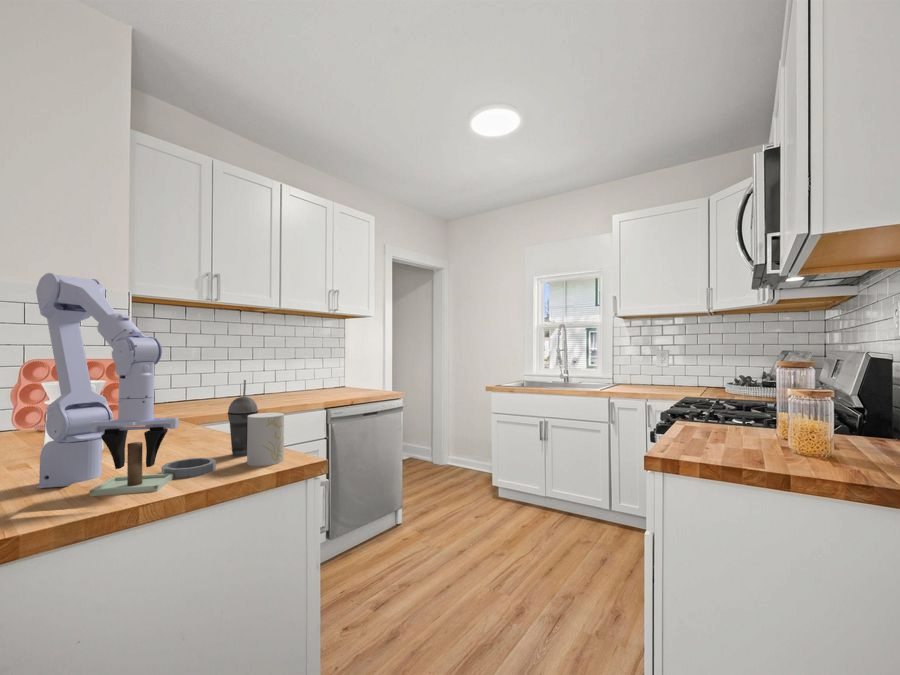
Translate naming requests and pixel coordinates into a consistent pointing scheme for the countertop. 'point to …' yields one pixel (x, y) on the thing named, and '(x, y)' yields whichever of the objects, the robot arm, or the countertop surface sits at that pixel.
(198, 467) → the ramekin
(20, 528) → the countertop surface
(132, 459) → the dowel
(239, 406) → the beverage cup
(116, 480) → the tray
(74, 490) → the countertop surface
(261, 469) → the countertop surface
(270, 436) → the cup
